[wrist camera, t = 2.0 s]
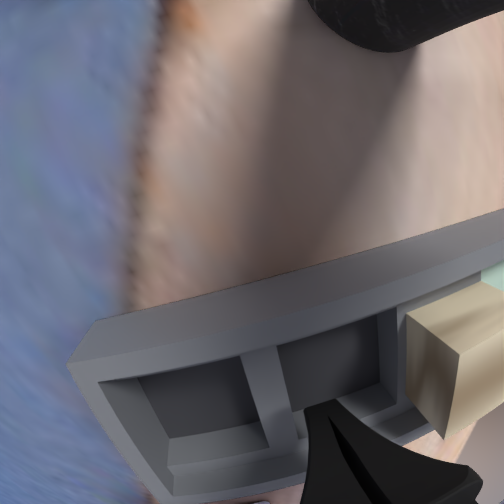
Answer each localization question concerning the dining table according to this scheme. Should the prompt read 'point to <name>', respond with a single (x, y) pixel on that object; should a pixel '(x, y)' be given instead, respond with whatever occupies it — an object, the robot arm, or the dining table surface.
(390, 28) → the travel mug
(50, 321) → the dining table surface
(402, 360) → the tray
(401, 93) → the dining table surface
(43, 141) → the dining table surface
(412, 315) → the birch block
